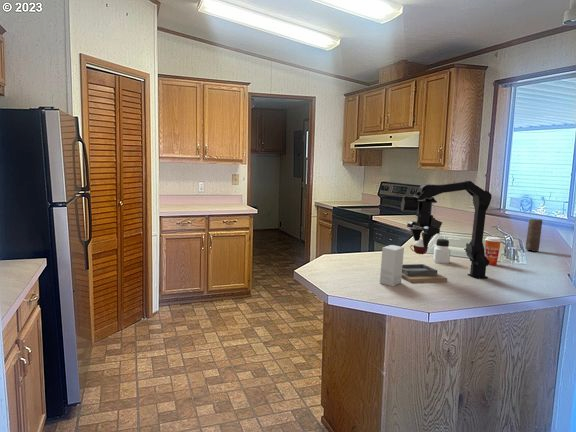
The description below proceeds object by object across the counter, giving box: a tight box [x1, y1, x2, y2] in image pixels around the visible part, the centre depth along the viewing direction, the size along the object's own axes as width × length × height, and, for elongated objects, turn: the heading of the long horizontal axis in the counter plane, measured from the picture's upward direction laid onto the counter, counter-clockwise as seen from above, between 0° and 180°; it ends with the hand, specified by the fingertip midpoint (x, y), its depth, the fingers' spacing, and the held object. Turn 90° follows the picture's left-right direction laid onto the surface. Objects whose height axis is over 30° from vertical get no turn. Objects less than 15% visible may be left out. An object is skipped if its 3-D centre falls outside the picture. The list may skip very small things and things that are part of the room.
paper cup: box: [484, 236, 502, 266], centre depth 227 cm, size 8×8×14 cm
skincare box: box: [379, 244, 405, 287], centre depth 182 cm, size 8×7×16 cm
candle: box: [524, 218, 543, 252], centre depth 268 cm, size 8×7×20 cm
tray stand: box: [401, 263, 448, 283], centre depth 198 cm, size 22×18×4 cm
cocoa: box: [409, 239, 429, 255], centre depth 198 cm, size 10×6×12 cm, turn 54°
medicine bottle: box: [432, 238, 451, 265], centre depth 228 cm, size 7×7×12 cm
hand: (421, 245), depth 199 cm, fingers closed on cocoa, 7 cm apart
